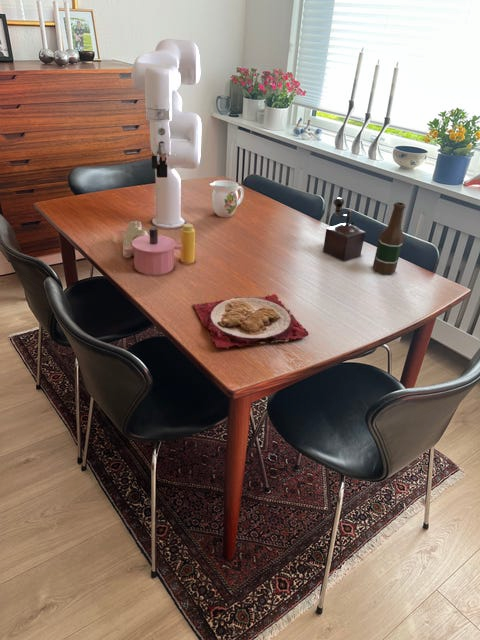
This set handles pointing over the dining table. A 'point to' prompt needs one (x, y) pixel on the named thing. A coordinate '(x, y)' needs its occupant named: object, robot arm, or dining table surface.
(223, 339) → the plate with food
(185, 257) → the yellow stepped cylinder
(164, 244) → the lid
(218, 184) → the pitcher
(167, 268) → the pot
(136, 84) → the robot arm
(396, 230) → the beer bottle
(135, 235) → the cheese
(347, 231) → the coffee grinder
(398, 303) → the dining table surface
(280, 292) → the dining table surface
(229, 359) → the dining table surface
